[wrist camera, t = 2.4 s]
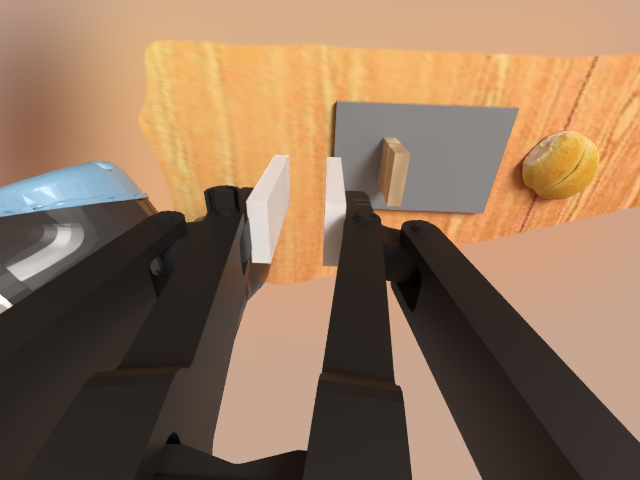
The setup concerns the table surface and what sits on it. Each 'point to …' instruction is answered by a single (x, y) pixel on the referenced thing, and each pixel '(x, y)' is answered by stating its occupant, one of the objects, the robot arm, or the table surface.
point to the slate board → (425, 151)
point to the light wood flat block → (393, 171)
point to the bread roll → (561, 165)
